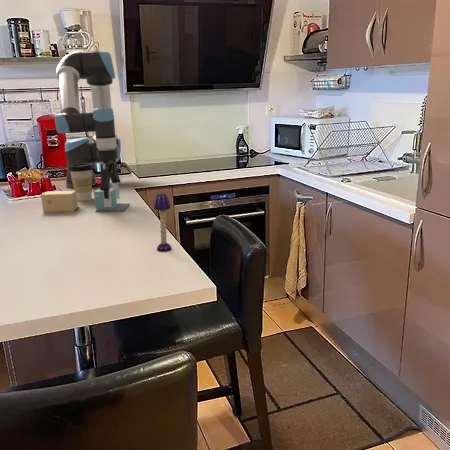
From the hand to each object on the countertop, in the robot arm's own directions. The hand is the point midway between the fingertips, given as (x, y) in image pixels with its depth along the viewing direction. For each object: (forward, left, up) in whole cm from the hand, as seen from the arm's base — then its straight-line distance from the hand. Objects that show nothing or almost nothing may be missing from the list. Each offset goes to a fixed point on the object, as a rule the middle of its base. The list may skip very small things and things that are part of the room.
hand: (112, 202), depth 186 cm
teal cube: (0, -3, -2) cm, 3 cm away
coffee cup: (-18, -17, -3) cm, 25 cm away
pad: (0, 0, -2) cm, 2 cm away
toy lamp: (+52, +28, -3) cm, 59 cm away
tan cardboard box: (0, -21, -2) cm, 21 cm away
